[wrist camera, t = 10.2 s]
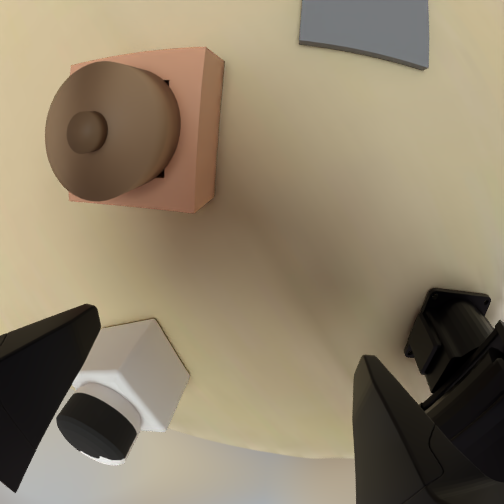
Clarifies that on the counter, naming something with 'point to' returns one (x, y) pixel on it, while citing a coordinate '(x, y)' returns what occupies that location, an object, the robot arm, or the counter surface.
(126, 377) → the medicine bottle
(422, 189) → the counter surface
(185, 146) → the salmon pink square box
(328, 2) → the coaster mat
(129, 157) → the walnut lid
